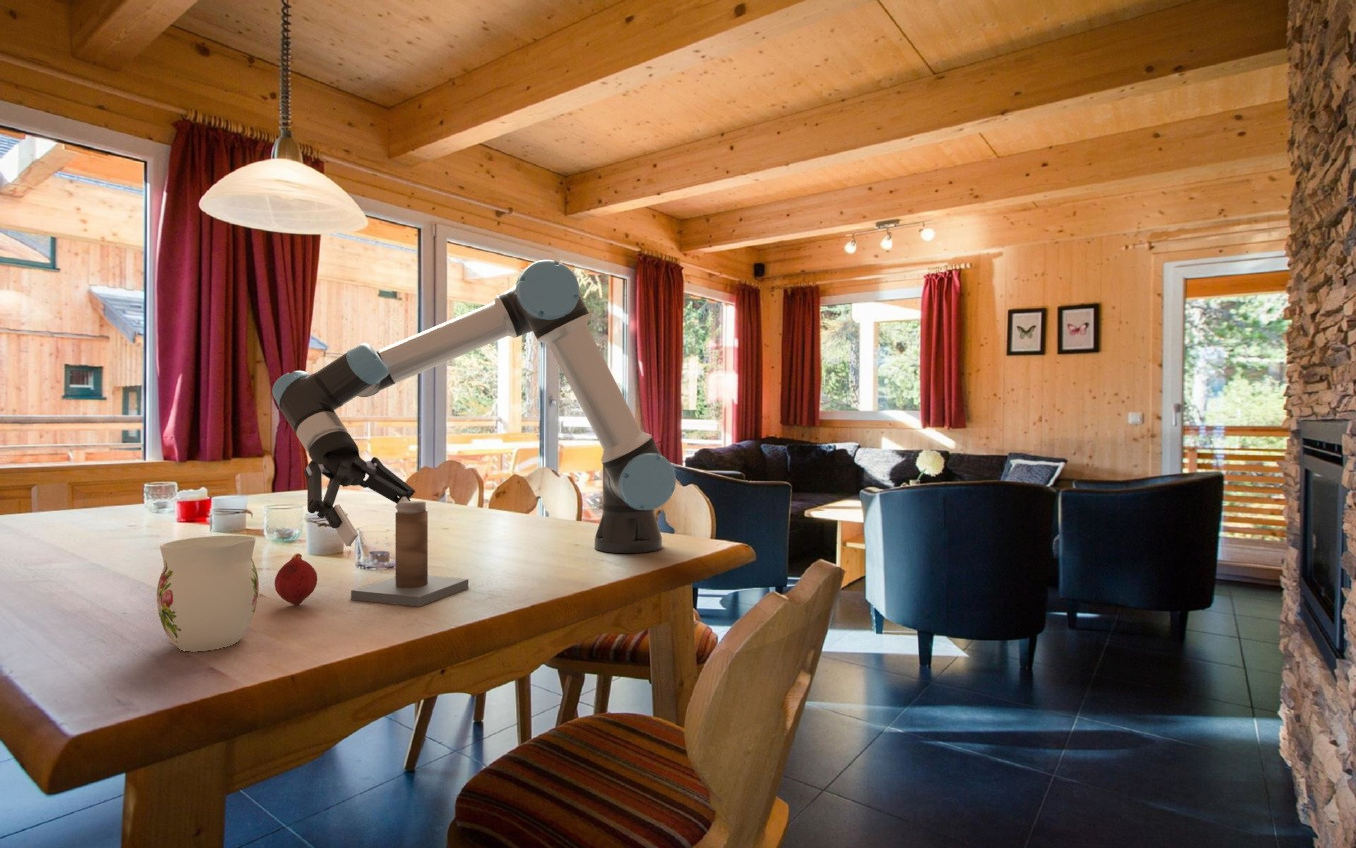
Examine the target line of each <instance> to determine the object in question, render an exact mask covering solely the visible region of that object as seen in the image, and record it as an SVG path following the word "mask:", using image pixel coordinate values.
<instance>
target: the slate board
mask: <svg viewBox="0 0 1356 848" xmlns="http://www.w3.org/2000/svg"><path fill="white" fill-rule="evenodd" d="M466 589H469V579H468V578H459V577H448V576H438V575H437V576H436V575H428V584H427V585H424V586H420V587H414V588H400V587H396V576H393V577H389V578H387V579H386V578H385V579H383V580H380V581H376V582H372V583H370V584H367V585H364V586H361V587H356V588H354V589H351V590H350V600H351V601H361V602H369V603H370V602H371V603H380V604H381V603H382V604H387V605H388V604H390V605H398V606H409V607H418V608H420V607H422V606H425V605H427V604H430V603H432V602H433V603H434V602H435V601H437V600H440V599H443V598H446V597H448V596H451V595H454V594H456V593H459V592H462V591H464V590H466Z"/></svg>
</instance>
